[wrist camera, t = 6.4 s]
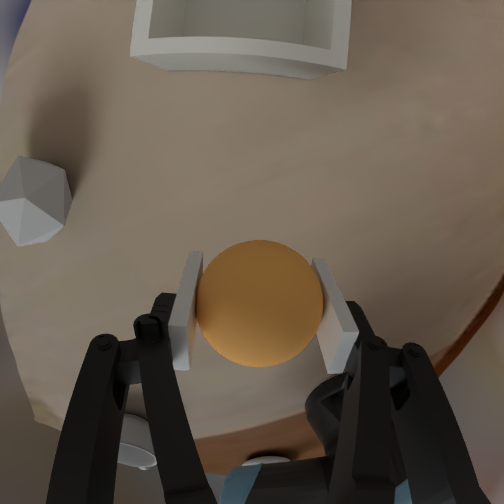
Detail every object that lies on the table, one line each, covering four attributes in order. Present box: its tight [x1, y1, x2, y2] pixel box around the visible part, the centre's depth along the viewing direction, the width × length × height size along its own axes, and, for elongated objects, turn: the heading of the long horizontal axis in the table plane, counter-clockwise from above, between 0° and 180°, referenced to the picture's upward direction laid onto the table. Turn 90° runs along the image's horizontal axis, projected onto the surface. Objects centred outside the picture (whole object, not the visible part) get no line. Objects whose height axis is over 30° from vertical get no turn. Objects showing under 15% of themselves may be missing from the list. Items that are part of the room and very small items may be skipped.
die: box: [0, 156, 72, 247], centre depth 23 cm, size 8×9×10 cm
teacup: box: [117, 414, 157, 470], centre depth 44 cm, size 14×11×8 cm
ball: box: [196, 240, 323, 367], centre depth 15 cm, size 6×6×6 cm
